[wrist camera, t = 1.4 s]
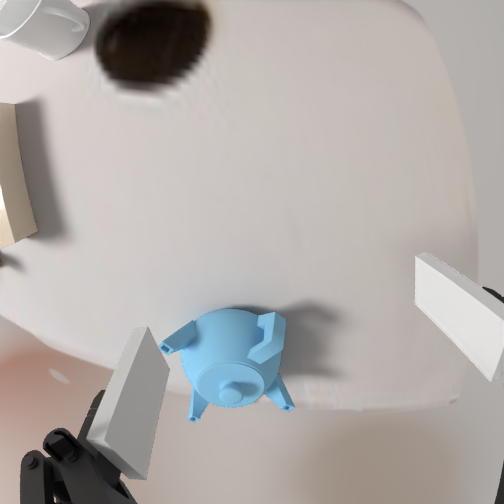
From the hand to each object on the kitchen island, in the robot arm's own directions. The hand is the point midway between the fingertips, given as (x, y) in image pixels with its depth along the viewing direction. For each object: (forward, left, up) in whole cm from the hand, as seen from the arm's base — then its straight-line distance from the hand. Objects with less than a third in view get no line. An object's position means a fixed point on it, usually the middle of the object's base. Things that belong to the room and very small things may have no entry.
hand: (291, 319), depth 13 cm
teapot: (+18, -7, -23) cm, 30 cm away
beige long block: (-15, -33, -23) cm, 43 cm away
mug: (-31, -19, -23) cm, 43 cm away
